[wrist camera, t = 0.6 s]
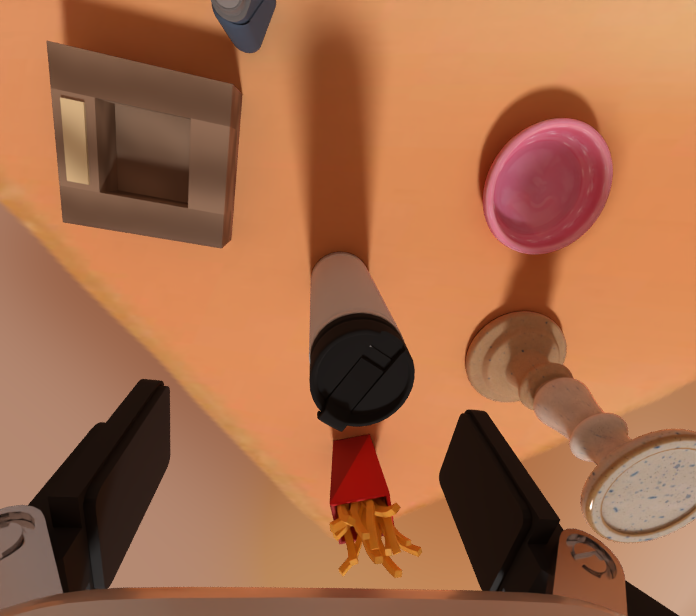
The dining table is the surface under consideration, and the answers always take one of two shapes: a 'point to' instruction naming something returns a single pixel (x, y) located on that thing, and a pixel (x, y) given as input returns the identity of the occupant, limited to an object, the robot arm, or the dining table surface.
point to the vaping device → (244, 21)
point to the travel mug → (354, 346)
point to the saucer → (547, 186)
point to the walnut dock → (144, 147)
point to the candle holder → (589, 431)
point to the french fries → (364, 506)
